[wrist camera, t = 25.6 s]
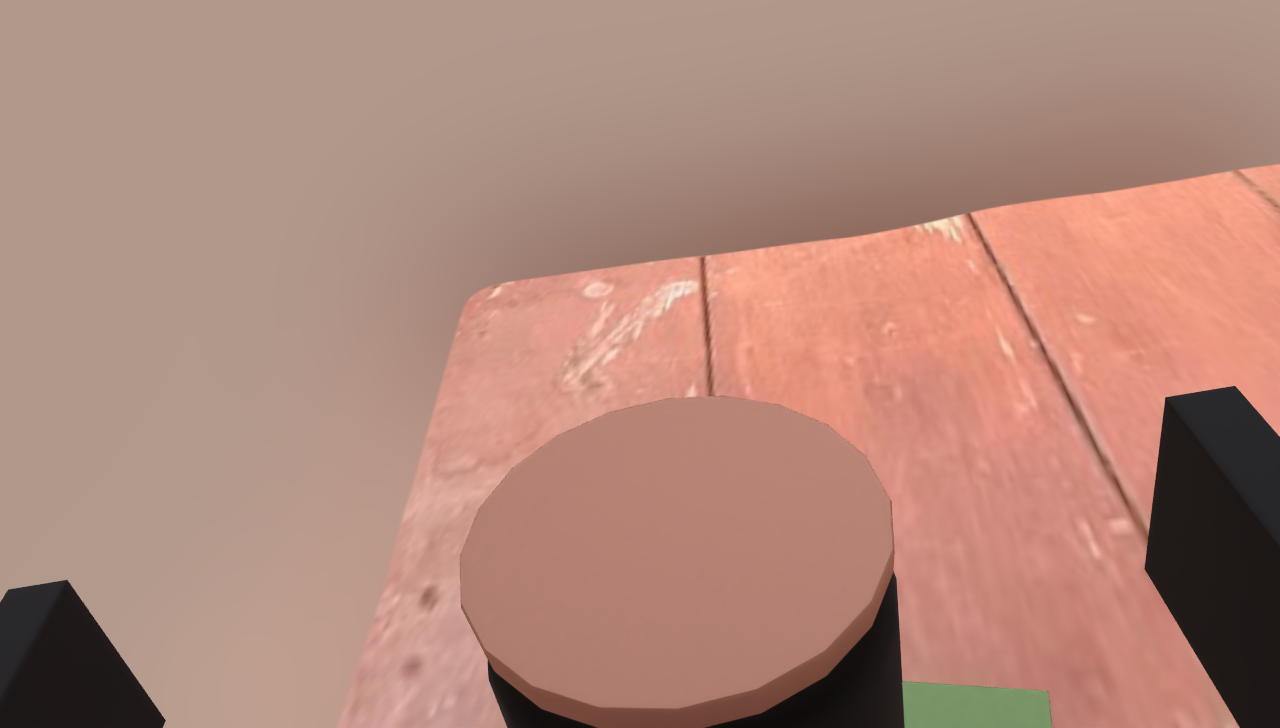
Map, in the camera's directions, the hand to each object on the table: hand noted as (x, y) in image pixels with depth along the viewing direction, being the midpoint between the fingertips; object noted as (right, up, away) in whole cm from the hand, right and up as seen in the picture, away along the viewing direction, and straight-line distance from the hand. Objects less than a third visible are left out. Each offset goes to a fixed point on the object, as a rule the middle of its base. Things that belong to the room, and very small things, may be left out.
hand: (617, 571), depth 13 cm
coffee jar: (+4, -16, +23) cm, 28 cm away
